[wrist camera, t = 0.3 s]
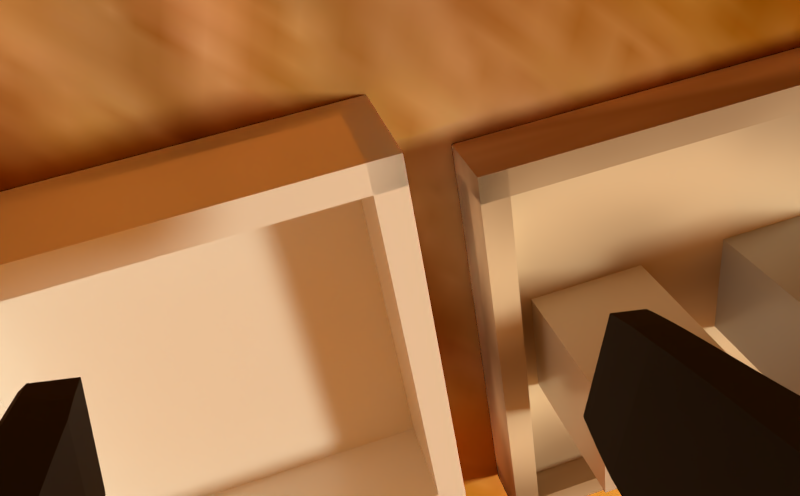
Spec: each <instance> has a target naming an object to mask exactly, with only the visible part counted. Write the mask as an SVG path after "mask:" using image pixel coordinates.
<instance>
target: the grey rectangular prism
mask: <svg viewBox="0 0 800 496" xmlns="http://www.w3.org/2000/svg"><path fill="white" fill-rule="evenodd" d="M715 327H716V328H717V329H718V330H719V331H720V332H721V333H722V334H723V335H724V336H725V337H726V338H727V339H728V340H729V341H730V342H731V343H732V344H733V345H734V346H735V347H736V348H737V349H738V350H739V351H740V352H741V353H742V354H743V355H744V356H745V357H746V358H747V359H748V360H749V361H750V362H751V363H752V364H753V365H754V366H755V367H756V368H757V369H758V370H759V371H760V372H761V373H762V374H763V375H765V376H766V377H768V378H770V379H772V380H773V381H775V382H777V383H778V384H780V385H782V386H784V387H785V388H787V389H789V390H791V391H792V392H794V393H796V394H798V395H800V216H797V217H793V218H790V219H787V220H784V221H781V222H777V223H774V224H771V225H768V226H765V227H761V228H758V229H755V230H752V231H749V232H745V233H742V234H739V235H736V236H732V237H729V238H726V239H723V248H722V258H721V268H720V277H719V287H718V297H717V306H716V316H715Z"/></svg>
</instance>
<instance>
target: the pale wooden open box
mask: <svg viewBox="0 0 800 496" xmlns="http://www.w3.org/2000/svg"><path fill="white" fill-rule="evenodd" d="M75 377H81V380H82V385H83V390H84V394H85V399H86V404H87V408H88V413H89V418H90V423H91V427H92V432H93V437H94V441H95V446H96V451H97V455H98V460H99V465H100V469H101V474H102V479H103V483H104V488H105V496H466V493H465V488H464V483H463V477H462V472H461V466H460V461H459V455H458V450H457V445H456V439H455V434H454V428H453V423H452V417H451V412H450V407H449V401H448V396H447V390H446V385H445V379H444V374H443V368H442V363H441V358H440V352H439V347H438V341H437V336H436V330H435V325H434V320H433V314H432V309H431V303H430V298H429V292H428V287H427V281H426V276H425V271H424V265H423V260H422V254H421V249H420V243H419V238H418V233H417V227H416V222H415V216H414V211H413V205H412V200H411V194H410V189H409V184H408V178H407V173H406V167H405V162H404V156H403V152H402V151H401V149H400V148H399V146H398V144H397V143H396V141H395V140H394V138H393V137H392V135H391V133H390V132H389V130H388V129H387V127H386V126H385V124H384V122H383V121H382V119H381V118H380V116H379V115H378V113H377V111H376V110H375V108H374V107H373V105H372V103H371V102H370V100H369V99H368V97H367V96H366V95H362V96H359V97H355V98H351V99H347V100H344V101H340V102H336V103H332V104H329V105H325V106H321V107H317V108H314V109H310V110H306V111H302V112H298V113H295V114H291V115H287V116H283V117H280V118H276V119H272V120H268V121H265V122H261V123H257V124H253V125H250V126H246V127H242V128H238V129H235V130H231V131H227V132H223V133H220V134H216V135H212V136H208V137H205V138H201V139H197V140H193V141H190V142H186V143H182V144H178V145H175V146H171V147H167V148H163V149H160V150H156V151H152V152H148V153H145V154H141V155H137V156H133V157H130V158H126V159H122V160H118V161H115V162H111V163H107V164H103V165H100V166H96V167H92V168H88V169H85V170H81V171H77V172H73V173H70V174H66V175H62V176H58V177H55V178H51V179H47V180H43V181H40V182H36V183H32V184H28V185H25V186H21V187H17V188H13V189H10V190H6V191H2V192H0V420H1V418H2V417H3V415H4V413H5V412H6V410H7V409H8V407H9V405H10V404H11V402H12V401H13V399H14V397H15V396H16V394H17V392H18V391H19V390H20V389H21V388H22V387H23V386H24V385H25V384H26V383H34V382H42V381H51V380H59V379H67V378H75Z"/></svg>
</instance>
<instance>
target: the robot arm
mask: <svg viewBox="0 0 800 496" xmlns="http://www.w3.org/2000/svg"><path fill="white" fill-rule="evenodd" d="M583 417H584V420H585V422H586V424H587V427H588V429H589V431H590V434H591V436H592V438H593V440H594V443H595V445H596V447H597V450H598V452H599V454H600V456H601V458H602V460H603V462H604V464H605V466H606V469H607V471H608V473H609V475H610V477H611V479H612V480H613V482H614V484H615V485H616V487H617V489H618V490H619V492H620V494H621V495H622V496H800V395H798V394H796V393H794V392H792V391H791V390H789V389H787V388H785V387H784V386H782V385H780V384H778V383H777V382H775V381H773V380H772V379H770V378H768V377H766V376H765V375H763V374H761V373H759V372H758V371H756V370H754V369H753V368H751V367H749V366H748V365H746V364H744V363H742V362H741V361H739V360H737V359H736V358H734V357H732V356H730V355H729V354H727V353H725V352H724V351H722V350H720V349H719V348H717V347H715V346H714V345H712V344H710V343H708V342H707V341H705V340H703V339H702V338H700V337H698V336H696V335H695V334H693V333H691V332H689V331H688V330H686V329H684V328H682V327H681V326H679V325H677V324H675V323H673V322H672V321H670V320H668V319H666V318H664V317H662V316H660V315H658V314H656V313H654V312H652V311H650V310H648V309H641V310H632V311H624V312H616V313H610V315H609V318H608V322H607V326H606V330H605V334H604V338H603V342H602V346H601V349H600V353H599V357H598V361H597V365H596V369H595V373H594V376H593V380H592V384H591V388H590V392H589V396H588V400H587V403H586V407H585V411H584V415H583ZM0 496H105V488H104V483H103V479H102V474H101V469H100V465H99V460H98V455H97V451H96V446H95V441H94V437H93V432H92V427H91V423H90V418H89V413H88V408H87V404H86V399H85V394H84V390H83V385H82V380H81V377H75V378H67V379H59V380H51V381H42V382H34V383H26V384H25V385H24V386H23V387H22V388H21V389H20V390H19V391H18V392H17V394H16V396H15V397H14V399H13V401H12V402H11V404H10V405H9V407H8V409H7V410H6V412H5V413H4V415H3V417H2V418H1V420H0Z"/></svg>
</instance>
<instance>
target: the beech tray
mask: <svg viewBox="0 0 800 496" xmlns="http://www.w3.org/2000/svg"><path fill="white" fill-rule="evenodd" d="M452 151H453V158H454V165H455V172H456V179H457V186H458V193H459V201H460V208H461V215H462V222H463V229H464V236H465V243H466V250H467V257H468V265H469V272H470V279H471V286H472V293H473V300H474V307H475V314H476V322H477V329H478V336H479V343H480V350H481V357H482V364H483V371H484V379H485V386H486V393H487V400H488V407H489V414H490V421H491V428H492V435H493V443H494V450H495V457H496V464H497V471H498V476H499V479H500V481H501V483H502V485H503V487H504V489H505V491H506V493H507V495H508V496H587V495H590V494H593V493H596V492H599V491H602V490H603V488H602V487H601V485H600V483H599V482H598V480H597V478H596V477H595V475H594V474H593V472H592V470H591V469H590V467H589V465H588V464H587V462H586V461H585V459H584V457H583V456H582V454H581V452H580V451H579V449H578V448H577V446H576V444H575V443H574V441H573V439H572V438H571V436H570V435H569V433H568V431H567V430H566V428H565V427H564V425H563V423H562V422H561V420H560V418H559V417H558V415H557V414H556V412H555V410H554V409H553V407H552V405H551V404H550V402H549V401H548V399H547V397H546V396H545V394H544V392H543V391H542V389H541V388H540V386H539V384H538V375H537V363H536V351H535V339H534V326H533V314H532V302H531V299H534V298H537V297H540V296H543V295H546V294H550V293H553V292H556V291H559V290H562V289H566V288H569V287H572V286H575V285H578V284H582V283H585V282H588V281H591V280H594V279H598V278H601V277H604V276H607V275H611V274H614V273H617V272H620V271H623V270H627V269H630V268H633V267H636V266H639V265H641V266H642V267H643V268H644V269H645V270H646V271H647V272H648V273H649V274H650V275H651V276H652V277H653V278H654V279H655V280H656V281H657V282H658V283H659V284H660V285H661V286H662V287H663V288H664V289H665V290H666V291H667V292H668V293H669V294H670V295H671V296H672V297H673V298H674V299H675V300H676V301H677V302H678V303H679V304H680V305H681V306H682V308H683V309H684V310H685V311H686V312H687V313H688V314H689V315H690V316H691V317H692V318H693V319H694V320H695V321H696V322H697V323H698V324H699V325H700V326H701V327H702V328H703V329H704V330H705V331H706V332H707V333H708V334H709V335H710V336H711V337H712V338H713V339H714V340H715V341H716V342H717V343H718V344H719V345H720V346H721V347H722V349H723V350H724V351H725V352H726V353H727V354H729V355H730V356H732V357H734V358H736V359H737V360H739V361H741V362H742V363H744V364H746V365H748V366H749V367H751V368H753V369H754V370H756V371H758V372H759V373H761V372H760V371H759V370H758V369H757V368H756V367H755V366H754V365H753V364H752V363H751V362H750V361H749V360H748V359H747V358H746V357H745V356H744V355H743V354H742V353H741V352H740V351H739V350H738V349H737V348H736V347H735V346H734V345H733V344H732V343H731V342H730V341H729V340H728V339H727V338H726V337H725V336H724V335H723V334H722V333H721V332H720V331H719V330H718V329H717V328H716V327H715V316H716V306H717V297H718V287H719V277H720V268H721V258H722V248H723V239H726V238H729V237H732V236H736V235H739V234H742V233H745V232H749V231H752V230H755V229H758V228H761V227H765V226H768V225H771V224H774V223H777V222H781V221H784V220H787V219H790V218H793V217H797V216H800V47H799V48H795V49H792V50H788V51H785V52H781V53H778V54H774V55H770V56H767V57H763V58H760V59H756V60H753V61H749V62H745V63H742V64H738V65H735V66H731V67H727V68H724V69H720V70H717V71H713V72H710V73H706V74H702V75H699V76H695V77H692V78H688V79H685V80H681V81H677V82H674V83H670V84H667V85H663V86H660V87H656V88H652V89H649V90H645V91H642V92H638V93H634V94H631V95H627V96H624V97H620V98H617V99H613V100H609V101H606V102H602V103H599V104H595V105H592V106H588V107H584V108H581V109H577V110H574V111H570V112H567V113H563V114H559V115H556V116H552V117H549V118H545V119H541V120H538V121H534V122H531V123H527V124H524V125H520V126H516V127H513V128H509V129H506V130H502V131H499V132H495V133H491V134H488V135H484V136H481V137H477V138H474V139H470V140H466V141H463V142H459V143H456V144H452ZM761 374H762V373H761Z"/></svg>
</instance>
